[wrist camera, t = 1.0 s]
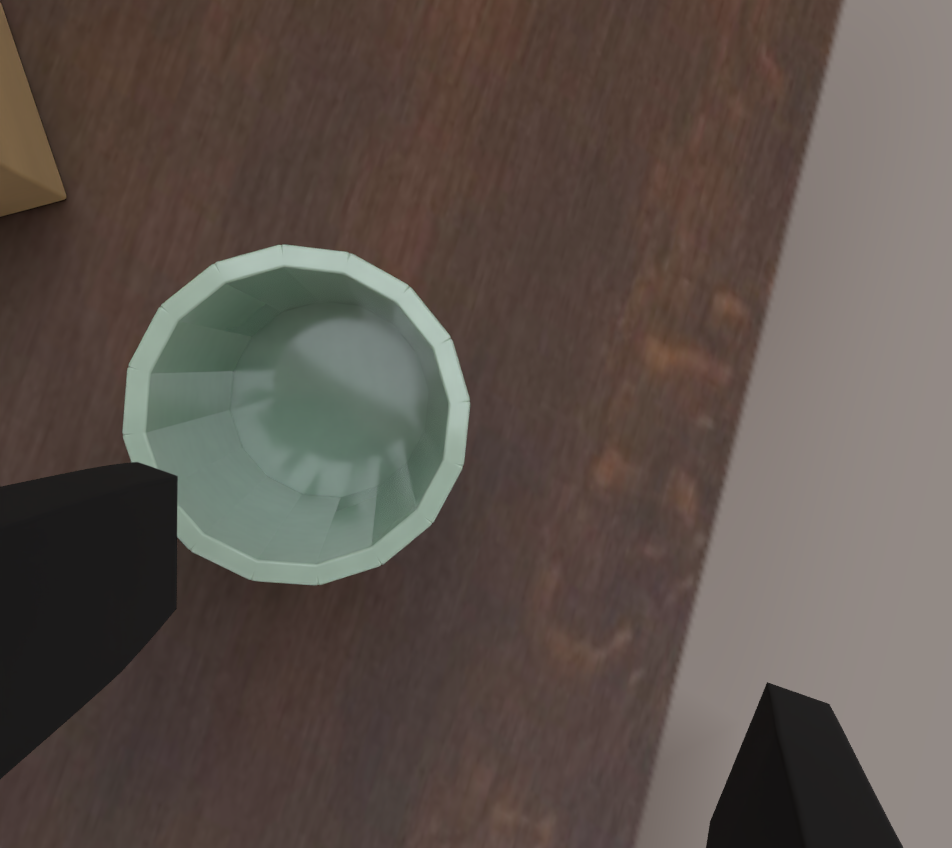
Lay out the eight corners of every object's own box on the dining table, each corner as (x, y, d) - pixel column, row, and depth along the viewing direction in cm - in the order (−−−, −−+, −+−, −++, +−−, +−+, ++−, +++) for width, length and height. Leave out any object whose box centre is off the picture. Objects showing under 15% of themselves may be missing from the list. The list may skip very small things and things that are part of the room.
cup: (260, 533, 22) (186, 627, 14) (191, 325, 21) (75, 301, 13) (466, 470, 22) (507, 526, 15) (404, 264, 22) (413, 206, 14)
